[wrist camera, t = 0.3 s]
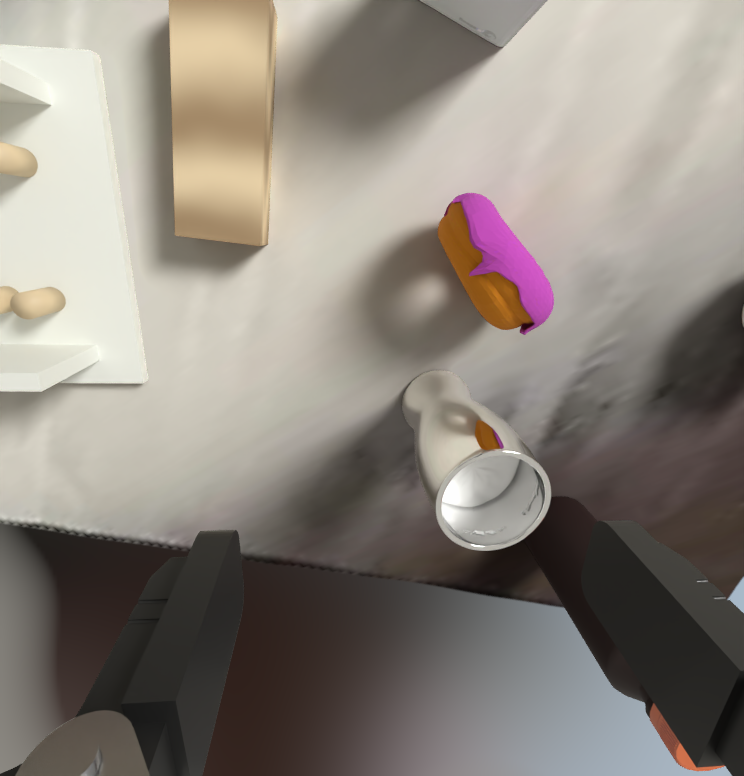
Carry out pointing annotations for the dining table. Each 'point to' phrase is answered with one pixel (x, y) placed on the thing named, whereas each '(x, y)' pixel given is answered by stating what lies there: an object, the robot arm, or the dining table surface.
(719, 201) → the dining table surface
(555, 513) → the bottle
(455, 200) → the donut
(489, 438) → the beer glass
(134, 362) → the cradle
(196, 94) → the plank
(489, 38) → the external hard drive
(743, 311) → the lidded jar
